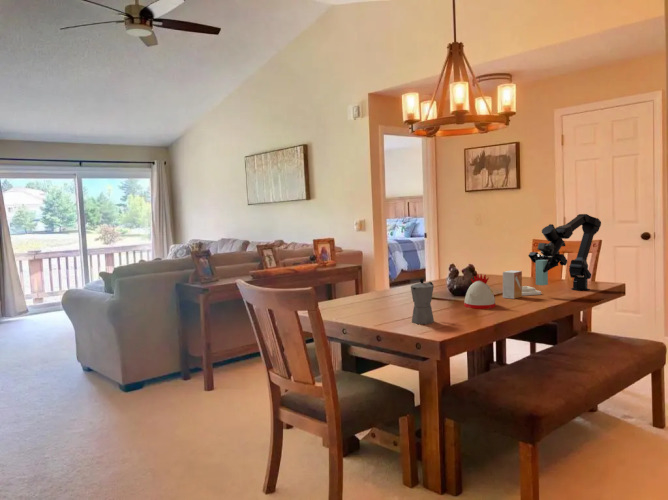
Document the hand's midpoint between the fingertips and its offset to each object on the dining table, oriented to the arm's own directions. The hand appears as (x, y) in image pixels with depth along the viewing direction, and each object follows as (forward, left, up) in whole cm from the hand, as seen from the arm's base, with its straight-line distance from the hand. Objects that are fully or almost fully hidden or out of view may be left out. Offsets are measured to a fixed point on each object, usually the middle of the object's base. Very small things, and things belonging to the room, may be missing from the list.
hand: (539, 271), depth 255 cm
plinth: (-1, -13, -13) cm, 19 cm away
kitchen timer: (+37, +3, -13) cm, 39 cm away
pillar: (-1, 0, -7) cm, 7 cm away
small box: (+11, -7, -13) cm, 18 cm away
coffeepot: (+75, +19, -13) cm, 78 cm away
